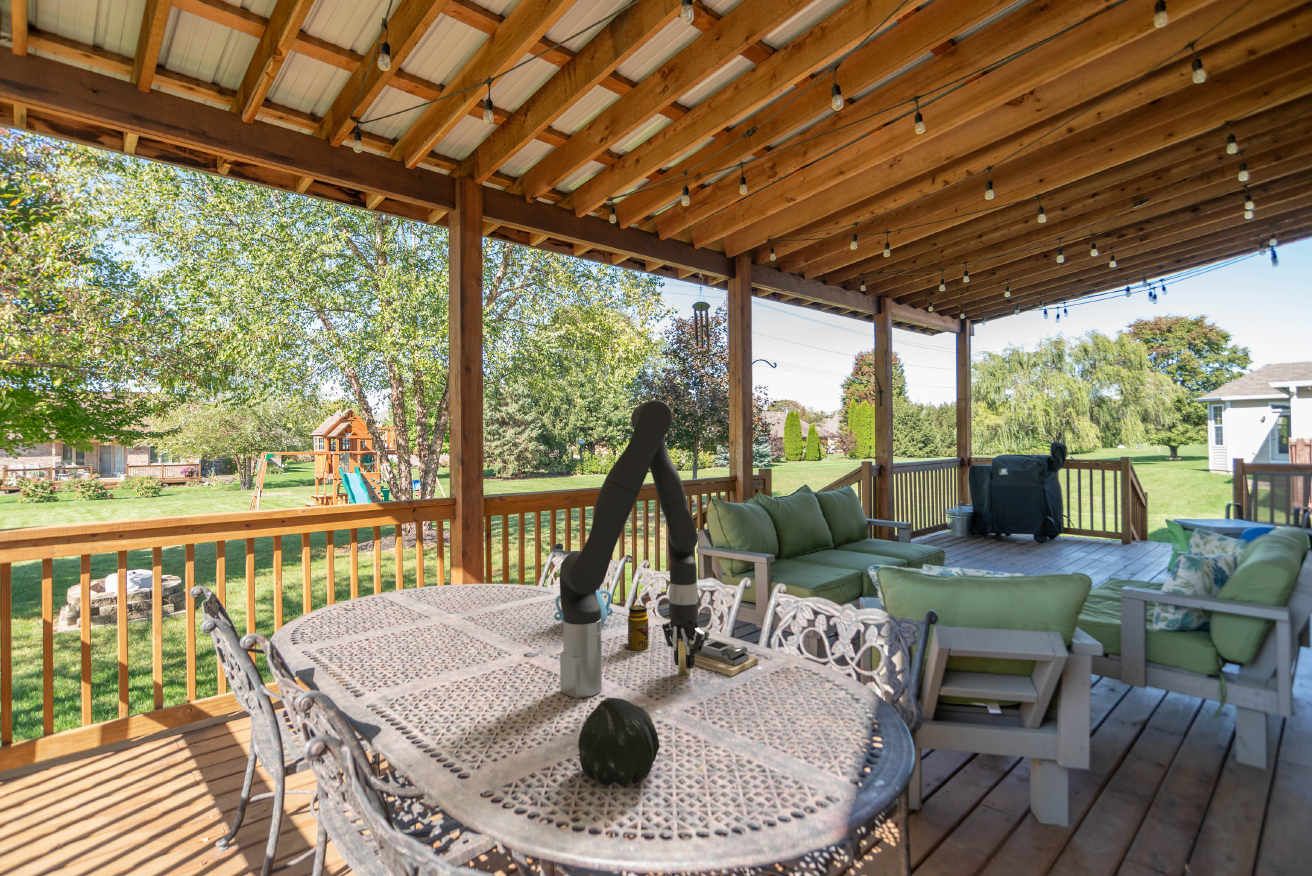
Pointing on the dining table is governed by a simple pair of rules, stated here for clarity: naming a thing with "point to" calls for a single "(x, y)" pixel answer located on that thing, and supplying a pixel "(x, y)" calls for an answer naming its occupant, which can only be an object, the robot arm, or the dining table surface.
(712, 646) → the clamp block fixture
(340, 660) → the dining table surface
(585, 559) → the robot arm
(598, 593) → the decorative pot
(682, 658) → the brass pin
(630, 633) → the condiment
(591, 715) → the squash
